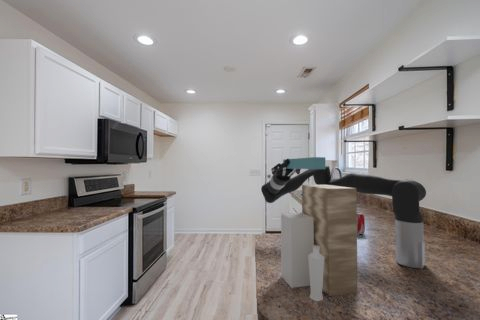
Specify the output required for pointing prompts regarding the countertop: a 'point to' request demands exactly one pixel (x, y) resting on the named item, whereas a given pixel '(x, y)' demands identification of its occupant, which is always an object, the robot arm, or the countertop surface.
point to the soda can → (360, 223)
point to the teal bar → (306, 163)
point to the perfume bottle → (316, 273)
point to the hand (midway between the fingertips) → (293, 160)
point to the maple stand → (334, 234)
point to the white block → (296, 248)
